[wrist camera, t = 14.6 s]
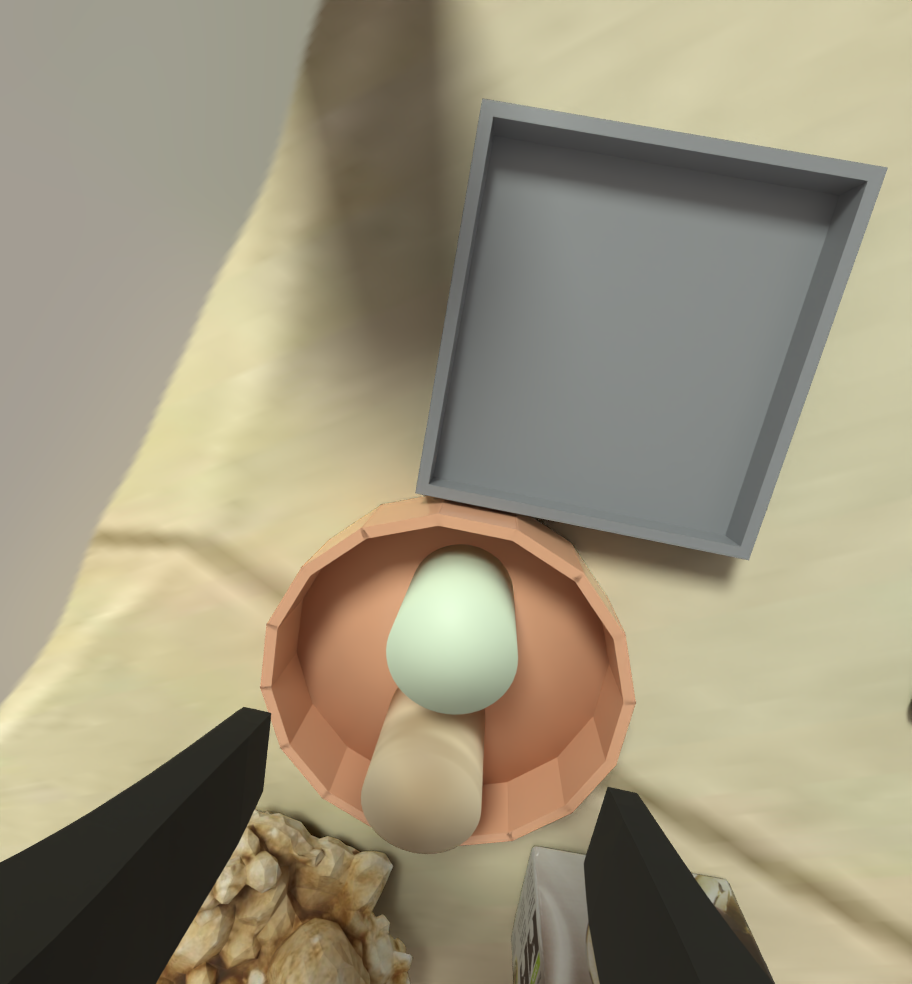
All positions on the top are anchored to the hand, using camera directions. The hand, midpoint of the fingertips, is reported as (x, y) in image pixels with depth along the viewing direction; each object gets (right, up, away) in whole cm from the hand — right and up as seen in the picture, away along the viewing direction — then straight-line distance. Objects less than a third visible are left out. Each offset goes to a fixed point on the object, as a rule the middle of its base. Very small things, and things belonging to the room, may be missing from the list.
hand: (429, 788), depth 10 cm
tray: (+6, +11, +7) cm, 15 cm away
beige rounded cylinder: (0, -3, +10) cm, 11 cm away
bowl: (0, 0, +10) cm, 10 cm away
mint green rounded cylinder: (+1, +2, +9) cm, 9 cm away
